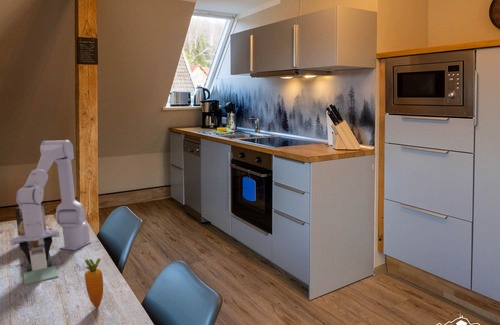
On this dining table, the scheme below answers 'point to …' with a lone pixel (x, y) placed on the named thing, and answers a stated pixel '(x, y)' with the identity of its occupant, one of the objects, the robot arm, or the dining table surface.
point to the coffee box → (21, 225)
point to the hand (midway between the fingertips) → (38, 260)
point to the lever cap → (38, 258)
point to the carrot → (94, 282)
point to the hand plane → (35, 245)
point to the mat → (40, 275)
